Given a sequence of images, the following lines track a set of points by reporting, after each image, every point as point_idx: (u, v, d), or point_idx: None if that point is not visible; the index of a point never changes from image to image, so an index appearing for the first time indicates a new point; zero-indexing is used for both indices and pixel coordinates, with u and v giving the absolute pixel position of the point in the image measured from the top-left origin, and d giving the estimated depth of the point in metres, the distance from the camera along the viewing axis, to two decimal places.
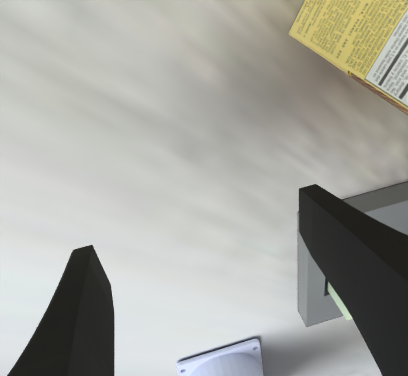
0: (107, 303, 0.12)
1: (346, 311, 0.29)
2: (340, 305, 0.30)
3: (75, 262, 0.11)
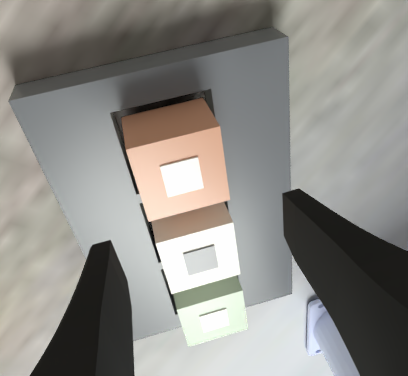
0: (125, 298, 0.12)
1: None
2: None
3: (95, 256, 0.11)
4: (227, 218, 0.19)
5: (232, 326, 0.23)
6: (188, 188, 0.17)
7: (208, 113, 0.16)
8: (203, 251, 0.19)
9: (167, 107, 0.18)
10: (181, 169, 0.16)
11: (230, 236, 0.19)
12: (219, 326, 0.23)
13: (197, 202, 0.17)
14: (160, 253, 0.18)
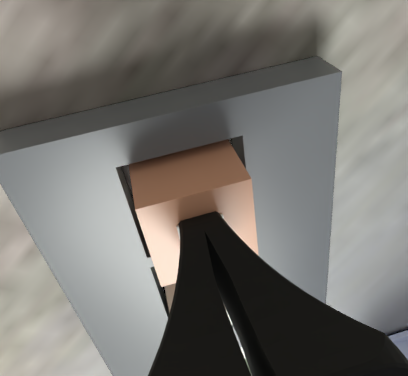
0: (213, 273, 0.13)
1: None
2: None
3: (189, 231, 0.12)
4: None
5: None
6: None
7: (235, 159, 0.13)
8: None
9: None
10: None
11: None
12: None
13: None
14: None
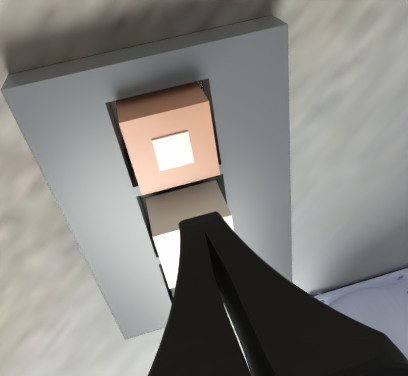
0: (213, 273, 0.13)
1: None
2: None
3: (189, 231, 0.12)
4: (225, 211, 0.18)
5: (231, 322, 0.23)
6: (179, 162, 0.17)
7: (198, 90, 0.17)
8: None
9: None
10: (172, 143, 0.17)
11: None
12: None
13: (188, 176, 0.18)
14: (157, 247, 0.18)
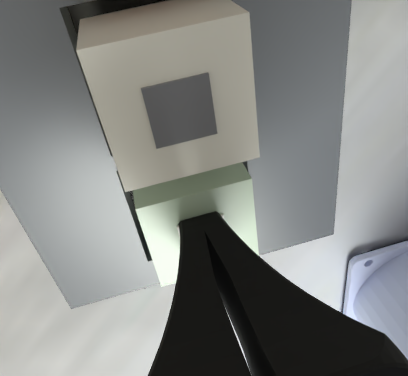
0: (213, 273, 0.13)
1: None
2: None
3: (189, 231, 0.12)
4: (236, 10, 0.09)
5: None
6: None
7: None
8: (185, 89, 0.09)
9: None
10: None
11: (242, 54, 0.09)
12: None
13: None
14: (90, 81, 0.08)
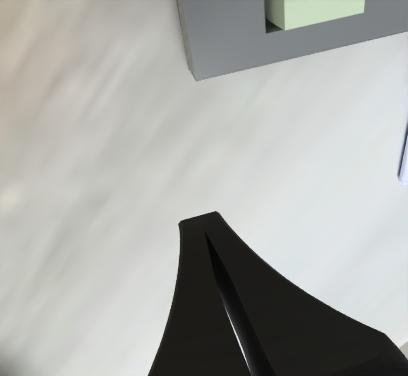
0: (213, 273, 0.13)
1: None
2: None
3: (189, 231, 0.12)
4: None
5: (346, 0, 0.17)
6: None
7: None
8: None
9: None
10: None
11: None
12: None
13: None
14: None
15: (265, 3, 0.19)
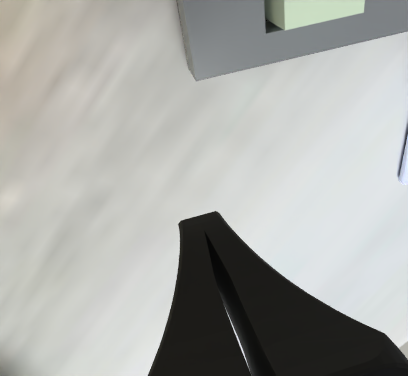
0: (213, 273, 0.13)
1: None
2: None
3: (189, 231, 0.12)
4: None
5: (346, 0, 0.17)
6: None
7: None
8: None
9: None
10: None
11: None
12: None
13: None
14: None
15: (265, 3, 0.19)
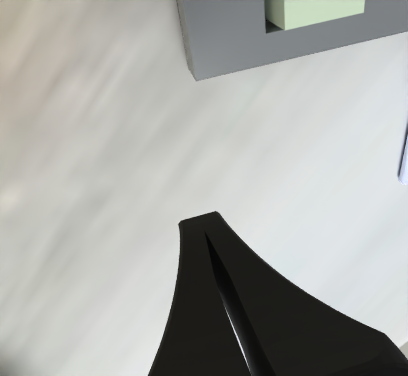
0: (213, 273, 0.13)
1: None
2: None
3: (189, 231, 0.12)
4: None
5: (346, 0, 0.17)
6: None
7: None
8: None
9: None
10: None
11: None
12: None
13: None
14: None
15: (265, 3, 0.19)
